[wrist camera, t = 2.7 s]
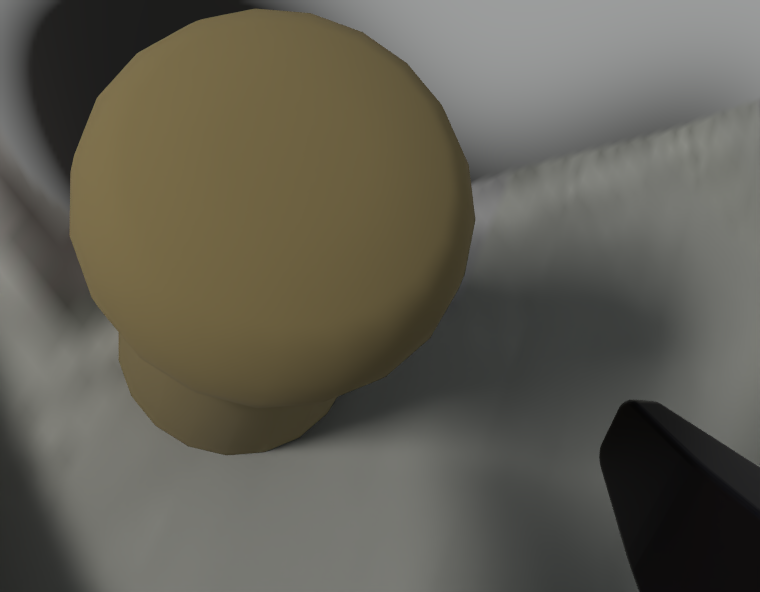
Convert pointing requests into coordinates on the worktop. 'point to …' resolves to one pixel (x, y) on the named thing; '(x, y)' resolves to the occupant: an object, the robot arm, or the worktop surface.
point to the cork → (267, 222)
